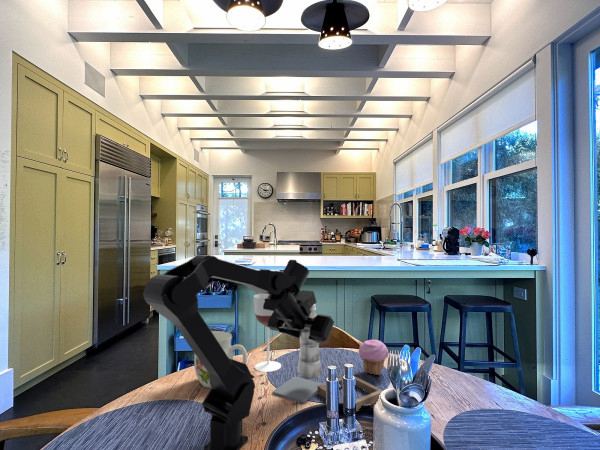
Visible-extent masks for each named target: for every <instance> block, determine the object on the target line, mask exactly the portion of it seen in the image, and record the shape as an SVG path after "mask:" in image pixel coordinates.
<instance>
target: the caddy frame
mask: <svg viewBox="0 0 600 450" xmlns="http://www.w3.org/2000/svg"><path fill="white" fill-rule="evenodd" d="M353 376H354V377H355V379H356V386H355V387H356V388H358V387H360V388H362V389H364V390H365V391H367V392H368V393H367V392H366V393H367V395H364V396H362V397H359V398H357V399H355V400H356V412H359V411H360V410H359V409H360V408H361V406H362V405H364V404H373V405H375V404H377V403H378V402H377V401H378V399H379V395H380V393H381V392H382V391H384V390H383V389H381V388H379V387H377V386H375V385H373V384H372V383H370V382H367V381H365V380H364V379H361V378H360V377H357V376H355V375H353ZM337 379H338V380H339V384H340V385H341V387H342V377H340V378H337ZM317 388H318V392H317V395H319V396H320V397H322V398H324V399H325V400H327V399H326V388H325V383H322V385H319V386H317ZM342 388H343V387H342ZM365 391H364V392H365ZM369 393H370V394H369ZM376 402H377V403H376ZM356 412H355V413H356Z"/></svg>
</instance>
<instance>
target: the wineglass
mask: <svg viewBox="0 0 600 450" xmlns="http://www.w3.org/2000/svg"><path fill="white" fill-rule="evenodd" d="M268 296H269V294H264V293H257V294H254V295H253V309H254V314H255V318H256V319H257V321H258V322H259V323H260V324H261V325H263V326H265V327H266V361H261V362H259V363H256V364H255V365H254V369H255V370H257V371H259V372H264V373H265V372H266V373H268V372H270V373H271V372H276V371H277V370H279V369H281V368H282V364H281V363H280V362H278V361H274V360H270V328H269V327H268V320H269V319H270V317H271V315H272V313H273V312H274V311H271V310H265V309H263V304H264V302H265V298H267V297H268Z"/></svg>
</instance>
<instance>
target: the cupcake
mask: <svg viewBox="0 0 600 450" xmlns="http://www.w3.org/2000/svg"><path fill="white" fill-rule="evenodd" d="M358 354H359V356H360V358H362V365H363V372H364V373H365V372H366V373H365V374H367V373H370V374H369V375H371V374H374V375H373V376H375V375H380V374H382V370H383V368H384V364H385V360H386V359H387V358H388V357H389V350H388V348H387V346H386V344H384V342H382V341H381V340H379V339H368V340H365V341H363V342H362V343H361V344H360V345H359V349H358ZM380 376H381V375H380Z"/></svg>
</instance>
